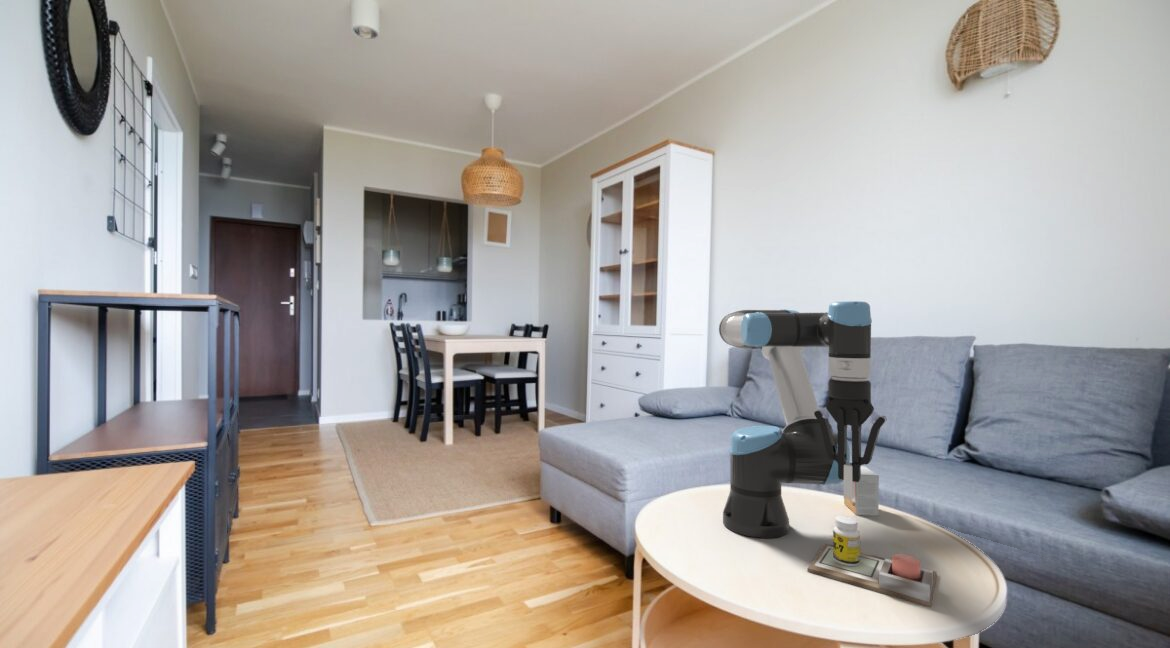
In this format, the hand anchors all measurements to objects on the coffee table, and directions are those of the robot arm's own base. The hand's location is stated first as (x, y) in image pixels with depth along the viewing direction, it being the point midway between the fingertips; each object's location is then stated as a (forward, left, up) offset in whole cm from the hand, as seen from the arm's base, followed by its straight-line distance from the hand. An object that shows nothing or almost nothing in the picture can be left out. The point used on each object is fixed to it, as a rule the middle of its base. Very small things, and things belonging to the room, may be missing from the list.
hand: (849, 496), depth 101 cm
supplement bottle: (-1, 0, -13) cm, 13 cm away
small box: (-4, +36, -14) cm, 39 cm away
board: (+4, 0, -14) cm, 15 cm away
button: (+10, -3, -12) cm, 16 cm away
